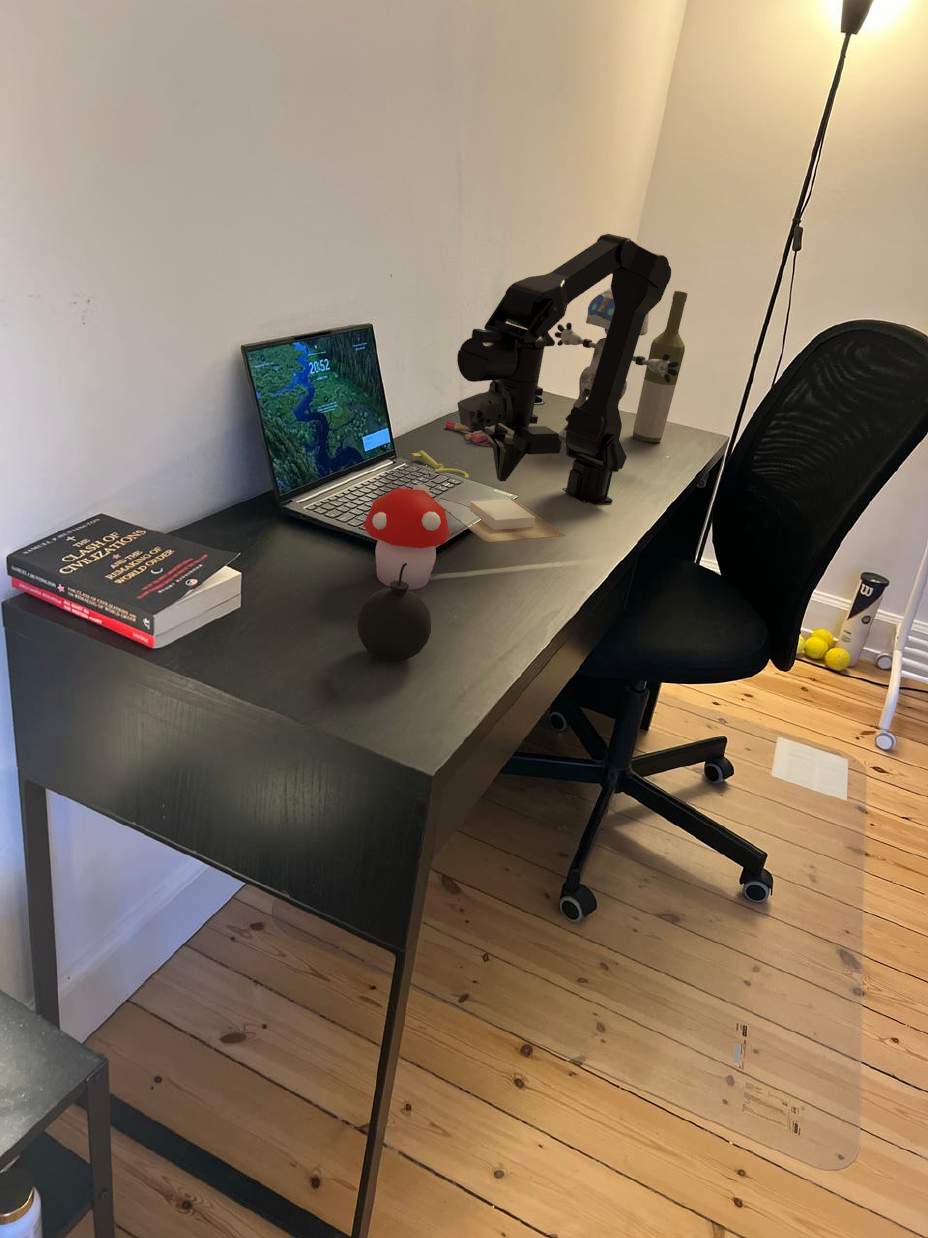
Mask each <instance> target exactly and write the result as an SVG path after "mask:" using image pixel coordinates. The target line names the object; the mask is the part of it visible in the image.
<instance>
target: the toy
mask: <svg viewBox="0 0 928 1238" xmlns="http://www.w3.org/2000/svg"><path fill="white" fill-rule="evenodd" d="M514 427H515V426H514ZM445 428H446V429H447V430H452V431H457V432H467V433H468V434H464V439H465V440H467V441H473V442H475V444H477V445H480V442H482V443H481V445H483V444H487V443H491V441H490V440H489V439H488V438H487V437H486V435H485V434H484V433H482V431H471V430H470V429H469V428H468V427H467V426H465V425H462V424H461V423H459V422H458V423H456V422H451V421H446V423H445ZM485 428H486V427H485ZM483 441H484V442H483Z"/></svg>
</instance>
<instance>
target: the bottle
mask: <svg viewBox="0 0 928 1238" xmlns="http://www.w3.org/2000/svg"><path fill="white" fill-rule="evenodd" d="M687 298H688V293H687V292H685V291H680V290H674V292H673V295H672V300H671V301H672V302H671V305H670V309H669V314H668V319H667V321H666V322H667V323H666V327H665V329H664V331H663V332H661V333H660V334H659V335H657V336H656V337H655V338H654V339H653V340H652V342H651V344H650V348H649V354H648V359H647V360H651V359H659V360H660V359H662V358H663V356H664V354H665V353H668V354H669V355H670V358H669V359H668V361H669V362H673V361H678V363H679V365H678V366H677V367H673V368H671V369H674V370H677V371H678V374H677V375H676V376H672V375H670V374H669V376H670V378H671V381H670V382H666V381H665V378H664V377H661V376H658V375H657V373H655V372H653V371H651V370H650V369H649V368H648V367H647V366H646V368H645V372H644V377H643V381H642V387H641V390H640V391H641V392H640V397H639V401H638V406H637V411H636V414H635V421H634V425H633V430H632V436H633V437H634V438H636V439H637V440H639V441H641V440H643V441H642V442H645V441H647V442H646V443H657V442H661V441H662V438H663V435H664V431H665V428H666V425H667V424H666V423H667V420H668V418H669V417H668V416H669V413H670V409H671V404H672V401H673V398H674V394H675V391H676V390H675V389H676V386H677V382H678V380H679V379H678V378H679V375H680V370H681V367H682V364H683V363H682V362H683V359H684V356H685V355H684V354H685V352H686V350H685V349H686V348H685V342H684V341H683V340H682V337H681V335H680V334H679V333H680V332H679V329H680V326H681V321H682V317H683V314H684V309H685V305H686V302H687V300H688V299H687Z"/></svg>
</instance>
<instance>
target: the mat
mask: <svg viewBox="0 0 928 1238" xmlns="http://www.w3.org/2000/svg"><path fill="white" fill-rule="evenodd" d="M511 498H512V499H511V501H513V502H514V503H516V504H517V505H519V506H520V507H521V508H523V509H524V510H526V511H527V512H529V513H530V514H531V515H533V516H534V517H535V522H534V527H529V528H517V529H504V530H493V529H492V528H491V527H489V526H488V525H487V524H485V523H484V522H483V521H481V520H480V521H479V522H477V523H475V524H472V526H471V527H469V528H468V530H470V531H471V532H472V533H474V534H475V535H476V536H478V537H479V538H480V539H481V540H482V541H483V542H485V543H494V542H496V543H497V542H506V541H507V542H509V541H517V540H530V539H542V538H553V537H565V536H567V535H566V534H565V533H563V532H562V531H561V530H559V529H558V528H556V527H555V526H553V525H552V524H550V523H549V522H548V521H546V520H544V518H541V516H539V515H537V513H536V514H535V513H534V512H533V511H532V510H530V509H528V508H527V507H526V506H524V505H522V504H521V503H520V502H518V501H517V500H516V499H515V498H513V497H511Z"/></svg>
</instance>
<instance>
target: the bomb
mask: <svg viewBox="0 0 928 1238" xmlns="http://www.w3.org/2000/svg"><path fill="white" fill-rule="evenodd" d="M406 565H407V563H405V564H403V565H402V567H401V571H400V575H399V581H392V582H391V583H390V586H389V588H388V587H387V588H383V589H380V590H378V591H376V592H374V593H373V594H372V595H370V596H369V597H368V598H367V599H366V600H365V601H364V602H363V604H362V605H361V607H360V610H359V611H358V612H359V613H358V616H357V625H356V626H357V633H358V637H359V639H360V641H361V643H362V645H363V647H364V648H365V649H366V650H367V652H368V653H370V654H371V655H373V656H374V657H375V658H376V659H379V660H382V661H385V662H391V663H392V662H394V663H395V662H396V663H398V662H404V661H406V660H409V659H412V658H413V657H415V656H416V655H418V654H419V653H420V652H421V651H422V650H423V649H424V647H425V646H426V645H427V643H428V640H429V639H430V637H431V632H432V619H431V613H430V610H429V608H428V606H427V605H426V603H425V602H424V601H423V600H422V599H421V597H420V596H419V595H417V594H416V593H414V592H413V591H410V590H407V589H408V587H409V585H408V583H406V582H403V581H401V580H402V573H403V569H404V567H405V566H406Z"/></svg>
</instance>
